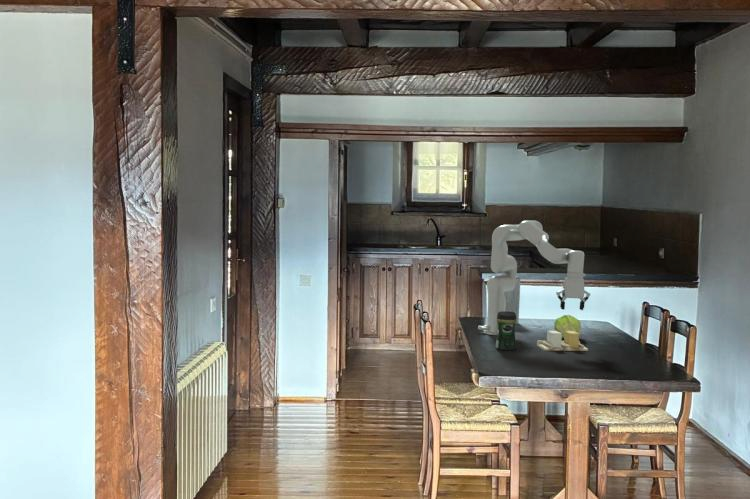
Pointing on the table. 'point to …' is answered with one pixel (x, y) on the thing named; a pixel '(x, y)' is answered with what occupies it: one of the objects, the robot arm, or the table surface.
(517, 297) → the vase
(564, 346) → the slot board
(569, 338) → the ochre bar
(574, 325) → the lettuce
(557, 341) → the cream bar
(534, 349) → the table surface
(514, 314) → the coffee jar
